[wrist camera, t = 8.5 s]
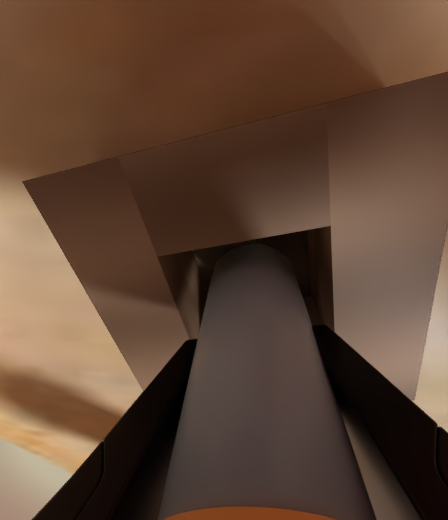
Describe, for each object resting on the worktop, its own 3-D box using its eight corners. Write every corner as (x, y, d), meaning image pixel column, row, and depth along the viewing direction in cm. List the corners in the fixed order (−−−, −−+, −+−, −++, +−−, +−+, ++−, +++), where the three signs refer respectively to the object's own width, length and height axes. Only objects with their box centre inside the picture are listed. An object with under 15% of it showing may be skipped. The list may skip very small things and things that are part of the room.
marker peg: (300, 309, 12) (478, 901, 3) (220, 319, 12) (155, 825, 3) (292, 233, 10) (696, 1159, 1) (199, 250, 10) (-39, 903, 2)
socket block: (373, 333, 14) (414, 400, 11) (176, 353, 16) (157, 416, 13) (387, 87, 9) (477, 63, 6) (93, 163, 11) (21, 181, 8)
